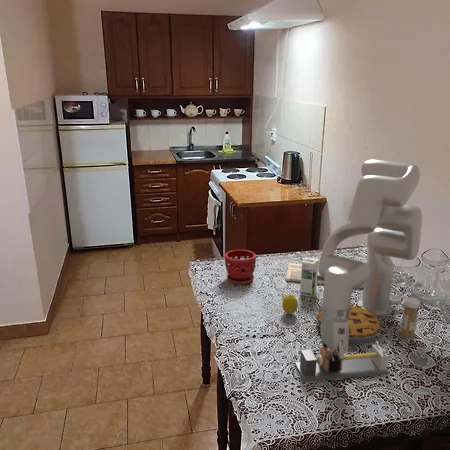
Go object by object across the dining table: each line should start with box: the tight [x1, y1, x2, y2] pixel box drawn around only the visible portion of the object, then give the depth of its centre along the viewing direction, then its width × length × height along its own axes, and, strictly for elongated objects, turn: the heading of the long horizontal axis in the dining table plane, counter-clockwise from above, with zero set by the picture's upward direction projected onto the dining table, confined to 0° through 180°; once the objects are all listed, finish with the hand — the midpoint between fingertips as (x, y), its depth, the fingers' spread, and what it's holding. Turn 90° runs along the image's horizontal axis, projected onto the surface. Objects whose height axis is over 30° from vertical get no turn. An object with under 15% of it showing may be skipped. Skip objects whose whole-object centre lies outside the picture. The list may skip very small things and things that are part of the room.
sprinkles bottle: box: [399, 296, 421, 340], centre depth 142 cm, size 5×5×13 cm
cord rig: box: [294, 340, 391, 383], centre depth 126 cm, size 26×8×7 cm, turn 98°
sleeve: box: [319, 346, 343, 372], centre depth 125 cm, size 5×5×5 cm
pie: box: [315, 304, 383, 345], centre depth 147 cm, size 22×22×5 cm
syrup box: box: [299, 256, 320, 298], centre depth 170 cm, size 6×6×14 cm
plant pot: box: [224, 249, 257, 285], centre depth 182 cm, size 13×13×12 cm
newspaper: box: [285, 262, 364, 289], centre depth 188 cm, size 37×19×3 cm, turn 78°
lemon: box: [281, 294, 299, 315], centre depth 156 cm, size 6×6×8 cm
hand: (330, 364), depth 126 cm, fingers closed on sleeve, 5 cm apart
